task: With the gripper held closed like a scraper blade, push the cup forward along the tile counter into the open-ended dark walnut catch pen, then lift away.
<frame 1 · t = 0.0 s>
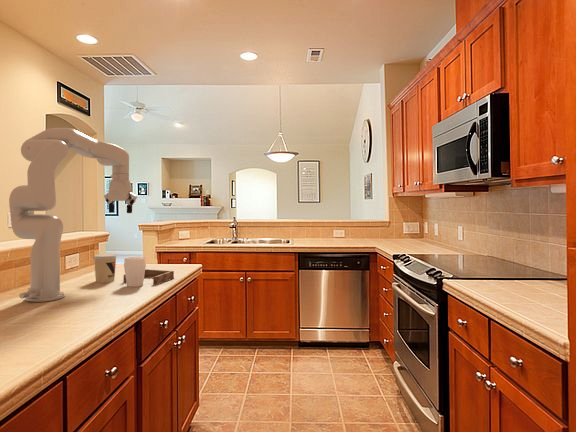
hand: (120, 212, 193), 31 cm above the countertop, fingers open, 9 cm apart
catch pen: (149, 280, 187), on the countertop
coffee cup: (105, 281, 183), on the countertop
cup: (134, 285, 175), on the countertop
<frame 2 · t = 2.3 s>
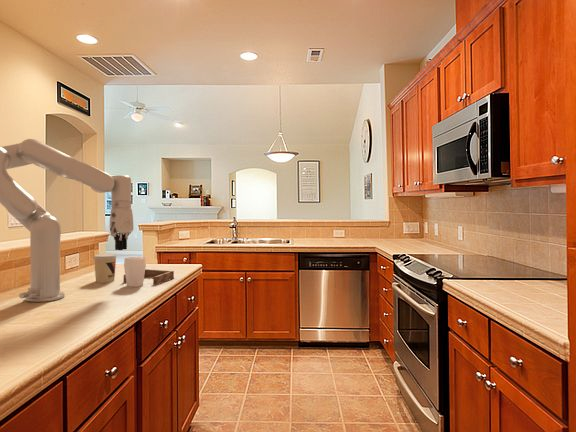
hand: (121, 249, 165), 17 cm above the countertop, fingers closed
nothing on the countertop moved.
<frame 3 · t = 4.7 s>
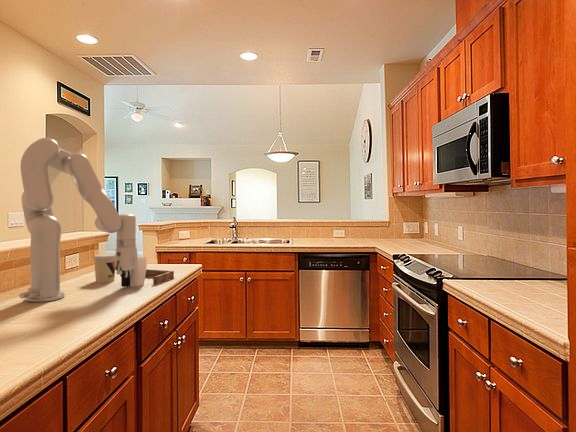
hand: (125, 286, 169), 1 cm above the countertop, fingers closed
cup: (135, 285, 176), on the countertop, touching gripper
everything else where it was.
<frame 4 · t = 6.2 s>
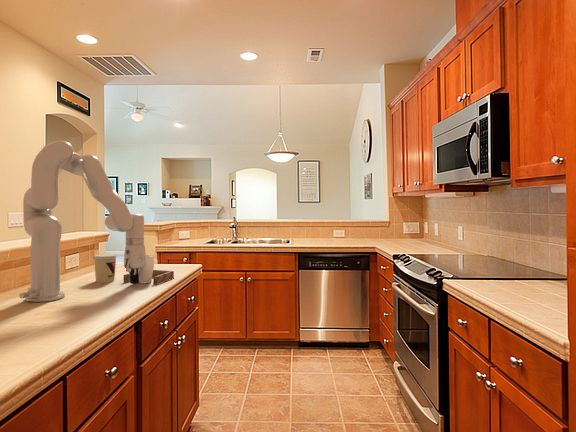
hand: (134, 283, 175), 1 cm above the countertop, fingers closed
cup: (143, 282, 182), on the countertop, touching gripper
everything else where it was.
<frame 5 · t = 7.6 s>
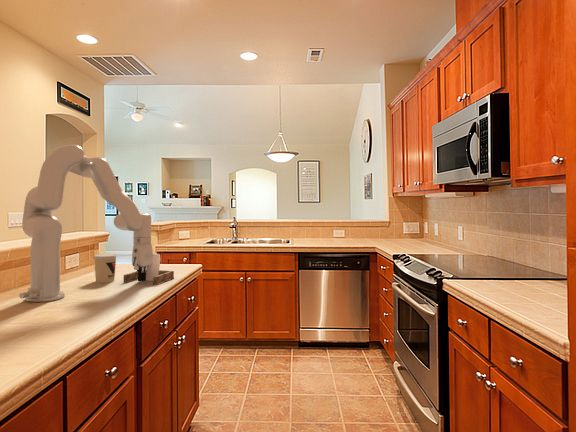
hand: (141, 280, 180), 1 cm above the countertop, fingers closed
cup: (150, 280, 188), resting in catch pen, touching gripper
everything else where it was.
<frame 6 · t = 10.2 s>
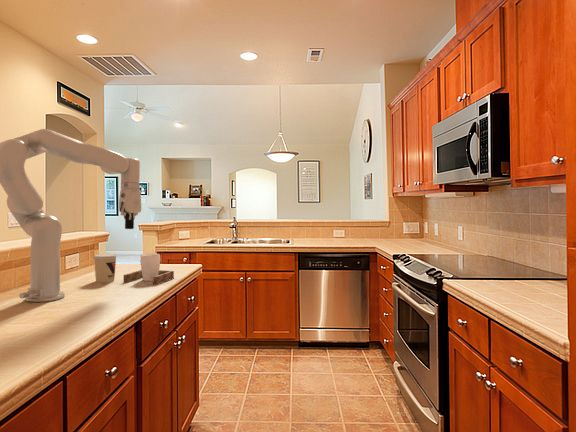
hand: (129, 228, 173), 25 cm above the countertop, fingers closed
cup: (150, 280, 188), resting in catch pen
everything else where it was.
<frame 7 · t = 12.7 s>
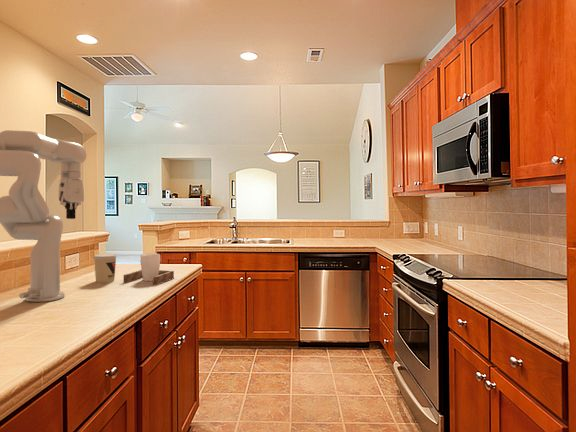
hand: (70, 218, 172), 29 cm above the countertop, fingers closed
nothing on the countertop moved.
at the end: cup inside the target area on the catch pen (1.8 cm from its centre), point 0.0 cm above the catch pen's base; cup tilted 0°; cup moved 12.8 cm from its start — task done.
